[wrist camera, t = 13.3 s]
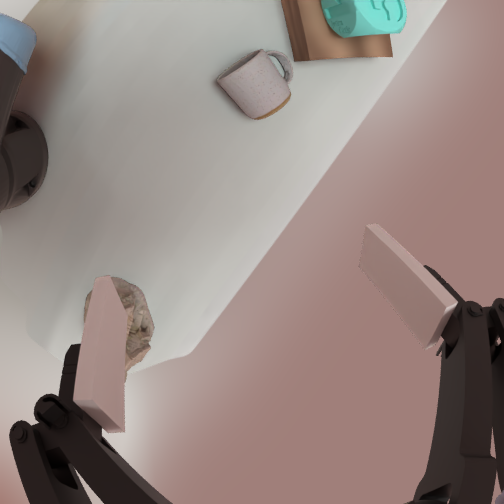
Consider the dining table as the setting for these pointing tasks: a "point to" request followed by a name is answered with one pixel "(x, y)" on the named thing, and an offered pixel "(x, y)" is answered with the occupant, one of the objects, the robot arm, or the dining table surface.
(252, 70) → the ceramic mug
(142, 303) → the ceramic cottage
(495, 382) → the robot arm
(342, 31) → the decorative dice
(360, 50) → the walnut block
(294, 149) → the dining table surface
